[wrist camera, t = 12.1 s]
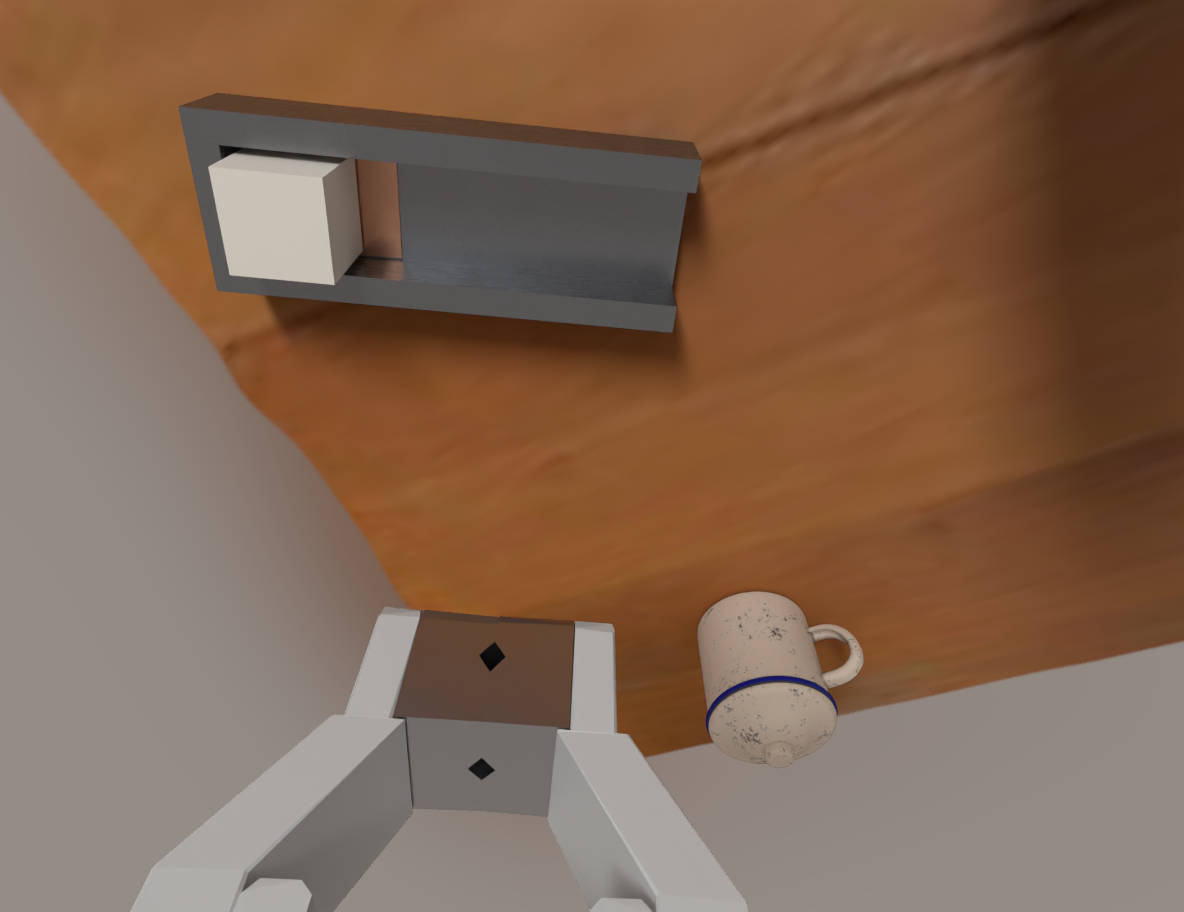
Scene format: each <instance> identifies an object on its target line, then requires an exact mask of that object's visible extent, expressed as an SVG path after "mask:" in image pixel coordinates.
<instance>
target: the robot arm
mask: <svg viewBox="0 0 1184 912" xmlns="http://www.w3.org/2000/svg"><path fill="white" fill-rule="evenodd" d="M412 809H439V810H441V809H442V810H469V811H472V810H473V811H488V812H498V813H509V814H521V815H532V816H543V817H548V822H549V824H550V827H551V829H552V831H553V833H554V835H555V837H556V839H557V841H558V844H559V845H560V848H561V850H562V852H563V854H564V856H565V858H566V861H567V862H568V865H569V867H570V869H571V871H572V873H573V875H574V877H575V880H576V882H577V884H578V886H579V888H580V890H581V892H582V894H583V897H584V899H585V901H586V903H587V905H588V907H589V909H590V912H748V909H747V903H746V901H745V900H744V899H743V897H742V896H741V894H740V893H739V892H738V890H737V889H736V887H735V886H734V884H733V883H732V881H731V880H730V879H729V877H728V876H727V874H726V873H725V871H724V870H723V869H722V867H721V866H720V864H719V863H718V861H717V860H716V859H715V857H714V856H713V854H712V853H711V851H710V850H709V848H708V847H707V846H706V844H705V843H704V841H703V840H702V839H701V837H700V836H699V834H698V833H697V831H696V830H695V828H694V827H693V826H692V824H691V823H690V821H689V820H688V818H687V817H686V816H685V814H684V813H683V811H682V810H681V809H680V807H679V806H678V804H677V803H676V801H675V800H674V799H673V797H672V796H671V794H670V793H669V792H668V790H667V789H666V787H665V786H664V784H663V783H662V781H661V780H660V779H659V777H658V776H657V774H656V773H655V771H654V770H653V768H652V767H651V766H650V764H649V763H648V761H647V760H646V758H645V757H644V756H643V754H642V753H641V751H640V750H639V748H638V747H637V746H636V744H635V743H634V741H633V740H632V738H631V737H630V736H629V734H621V733H617V716H616V668H615V630H614V628H613V625H612V624H607V623H592V622H578V621H575V623H574V621H568V620H552V619H536V618H519V617H503V616H500V617H491V616H481V615H471V614H461V613H451V612H441V611H431V610H415V609H404V608H393V607H385V608H384V609H383V611H382V612H381V613H380V615H379V616H378V619H377V622H376V625H375V628H374V630H373V633H372V636H371V639H370V642H369V645H368V648H367V651H366V654H365V656H364V660H363V662H362V665H361V668H360V671H359V674H358V677H357V680H356V683H355V685H354V689H353V691H352V694H351V697H350V700H349V703H348V706H347V709H346V711H345V714H344V715H338V714H337V715H335V714H332V715H331V716H330V717H328V718H327V719H326V720H325V721H324V722H323V723H321V724H320V725H319V726H318V727H317V728H316V729H314V730H313V731H312V732H311V733H310V734H308V735H307V736H306V737H305V738H304V739H303V740H302V741H300V742H299V743H298V744H297V745H296V746H294V747H293V748H292V749H291V750H290V751H288V752H287V753H286V754H285V755H284V756H283V757H281V758H280V759H279V760H278V761H277V762H276V763H274V764H273V765H272V766H271V767H270V768H269V769H267V770H266V771H265V772H264V773H263V774H261V775H260V776H259V777H258V778H257V779H256V780H254V781H253V782H252V783H251V784H250V785H249V786H247V787H246V788H245V789H244V790H243V791H241V793H239V794H238V795H237V796H236V797H234V798H233V799H232V800H231V801H230V802H229V803H227V804H226V805H225V806H224V807H223V808H222V809H220V810H219V811H218V812H217V813H216V814H214V815H213V816H212V817H211V818H210V819H209V820H208V821H206V822H205V823H204V824H203V825H202V826H201V827H199V828H198V829H197V830H196V831H195V832H193V833H192V834H191V835H190V836H189V837H187V839H185V840H184V841H183V842H182V843H180V844H179V845H178V846H177V847H176V848H175V849H173V850H172V851H171V852H170V853H169V854H168V855H167V856H165V857H164V858H163V859H162V860H161V861H159V862H158V863H157V864H156V865H155V866H153V868H152V870H151V872H150V874H149V876H148V878H147V880H146V882H145V884H144V886H143V888H142V890H141V892H140V894H139V896H138V898H137V900H136V902H135V904H134V906H133V908H132V910H131V912H333V911H334V910H335V909H336V908H337V907H338V905H339V904H340V902H341V901H342V900H343V899H344V898H345V897H346V895H347V894H348V893H349V891H350V890H351V889H352V888H353V887H354V885H355V884H356V883H357V882H358V880H359V879H360V878H361V877H362V875H363V874H364V873H365V872H366V870H367V869H368V868H369V867H370V866H371V864H372V863H373V862H374V861H375V859H376V858H377V857H378V856H379V854H380V853H381V852H382V851H383V849H384V848H385V847H386V846H387V845H388V843H389V842H390V841H391V840H392V838H393V837H394V836H395V834H396V833H397V832H398V831H399V830H400V828H401V827H402V826H403V825H404V823H405V822H406V821H407V820H408V818H409V817H410V816H411V815H412V813H413V811H412Z"/></svg>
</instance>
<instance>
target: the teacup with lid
mask: <svg viewBox="0 0 1184 912" xmlns="http://www.w3.org/2000/svg"><path fill="white" fill-rule="evenodd" d="M827 638H834V639H838V640H841V641H843V642H844V643H846V644H847V645H848V646H849V647H850V651H851V653H850V657H849V659H848V660H847V662H846V663H845V664H844V665H843V666H841V667H840V668H838V669H835V670H833V671H830V672H826V673H822V670H821V666H820V663H819V660H818V657H817V653H816V650H815V647H814V644H813V642H815V641H818V640H822V639H827ZM697 639H698V646H699V653H700V660H701V667H702V674H703V682H704V689H705V696H706V703H707V710H708V712H707V715H706V727H707V731H708V733H709V735H710V737H711V738H712V740H713V742H714V743H715V744H716V745H717V747H718V748H719V749H721V750H722V751H723V752H724V753H726V754H728V755H729V756H731V757H733V758H736V759H739V760H742V761H745V762H750V763H758V764H769V765H770V766H772V767H775V768H783V767H786V766H788V765H790V764H791V763H792V762H793V760H796V759H798V758H802V757H804V756H806V755H808V754H811V753H812V752H814V751H816V750H817V749H819V748H820V747H821V746H822V745H824V744H825V743H826V742H827V740H828V739H829V738H830V737H831V735H832V733H833V731H834V729H835V726H836V722H837V706H836V703H835V701H834V699H833V697H832V696H831V695H830V693H829V692H828V689H829V688H832V687H835V686H838V685H841V684H844V683H846V682H848V681H850V680H851V679H853V678H854V677H855V676H856V675H857V674H858V672H859V671H860V669H861V668H862V665H863V652H862V649H861V647H860V645H859V643H858V641H857V640H856V638H855V637H854V636H853V635H852V634H851V633H850V632H849V631H847V630H846V629H844V628H842V627H840V626H837V625H833V624H822V625H817V626H813V627H810V628H808V624H807V621H806V618H805V616H804V614H803V612H802V610H801V609H800V608H799V607H798V606H797V605H796V604H795V603H794V602H792V601H791V600H789V599H788V598H786V597H783V596H781V595H778V594H774V593H770V592H761V591H753V592H744V593H739V594H735V595H732V596H729V597H727V598H725V599H723V600H721V601H719V602H717V603H716V604H715V605H713V606H712V607H711V608H710V609H709V610H708V611H707V612H706V613H705V614H704V615H703V617H702V619H701V620H700V623H699V625H698V630H697Z"/></svg>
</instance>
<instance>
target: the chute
mask: <svg viewBox="0 0 1184 912" xmlns="http://www.w3.org/2000/svg"><path fill="white" fill-rule="evenodd" d="M178 107H179V112H180V117H181V122H182V126H183V131H184V136H185V140H186V145H187V150H188V154H189V159H190V164H191V169H192V173H193V178H194V183H195V187H196V192H197V197H198V202H199V206H200V211H201V216H202V220H203V225H204V230H205V235H206V239H207V244H208V249H209V253H210V258H211V263H212V268H213V272H214V277H215V282H216V286H217V291H225V292H236V293H247V294H258V295H268V296H279V297H290V298H301V299H312V300H323V301H333V302H344V303H355V304H366V305H377V306H388V307H398V308H409V309H420V310H431V311H442V312H453V313H463V314H474V315H485V316H496V317H507V318H518V319H529V320H539V321H550V322H561V323H572V324H583V325H594V326H604V327H615V328H626V329H637V330H648V331H659V332H669V333H672V332H673V327H674V321H675V315H676V309H677V305H676V300H675V295H674V291H673V286H672V284H673V278H674V272H675V266H676V260H677V254H678V248H679V242H680V236H681V230H682V224H683V218H684V211H685V205H686V199H687V193H688V192H689V193H696V192H697V187H698V181H699V175H700V169H701V163H702V159H701V157H700V155H699V153H698V151H697V149H696V147H695V145H694V143H692V142H683V141H673V140H663V139H654V138H644V137H635V136H625V135H615V134H606V133H596V132H586V131H577V130H567V129H558V128H548V127H538V126H529V125H519V124H510V123H500V122H490V121H481V120H471V119H461V118H452V117H442V116H433V115H423V114H413V113H404V112H394V111H385V110H375V109H365V108H356V107H346V106H336V105H327V104H317V103H308V102H298V101H288V100H279V99H269V98H259V97H250V96H240V95H231V94H221V93H216V94H213V95H210V96H207V97H204V98H202V99H199V100H196V101H193V102H190V103H187V104H184V105H181V106H178ZM243 148H253V149H263V150H272V151H282V152H292V153H302V154H312V155H322V156H332V157H342V158H352V159H355V168H356V179H357V190H358V202H359V213H360V224H361V235H362V247H363V251H362V252H361V254H360V255H359V256H358V257H357V258H356V260H355V261H354V262H353V263H352V265H351V266H350V267H349V268H348V269H347V271H346V272H345V273H344V274H343V275H342V277H341V278H340V279H339V280H338V281H337V283H336V284H335V285H329V284H318V283H308V282H297V281H286V280H276V279H265V278H254V277H243V276H233V275H230V274H229V269H228V264H227V259H226V254H225V249H224V244H223V239H222V234H221V229H220V224H219V219H218V214H217V209H216V204H215V199H214V194H213V189H212V184H211V179H210V174H209V169H208V166H210V165H212V164H214V163H216V162H218V161H220V160H222V159H224V158H226V157H228V156H230V155H231V154H233V153H235V152H237V151H239V150H241V149H243Z"/></svg>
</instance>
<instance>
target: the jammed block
mask: <svg viewBox="0 0 1184 912" xmlns="http://www.w3.org/2000/svg"><path fill="white" fill-rule="evenodd" d="M208 169H209V174H210V179H211V184H212V189H213V194H214V199H215V204H216V209H217V214H218V219H219V224H220V229H221V234H222V239H223V244H224V249H225V254H226V259H227V264H228V269H229V274H230V275H233V276H243V277H254V278H265V279H276V280H286V281H297V282H308V283H318V284H329V285H335V284H336V283H337V281H338V280H339V279H340V278H341V277H342V275H343V274H344V273H345V272H346V271H347V269H348V268H349V267H350V266H351V265H352V263H353V262H354V261H355V260H356V258H357V257H358V256H359V255H360V254H361V252H362V251H363V247H362V235H361V224H360V213H359V202H358V190H357V179H356V168H355V159H352V158H342V157H332V156H322V155H312V154H302V153H292V152H282V151H272V150H263V149H253V148H243V149H241V150H239V151H237V152H235V153H233V154H231V155H230V156H228V157H226V158H224V159H222V160H220V161H218V162H216V163H214V164H212V165H210V166H208Z"/></svg>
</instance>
